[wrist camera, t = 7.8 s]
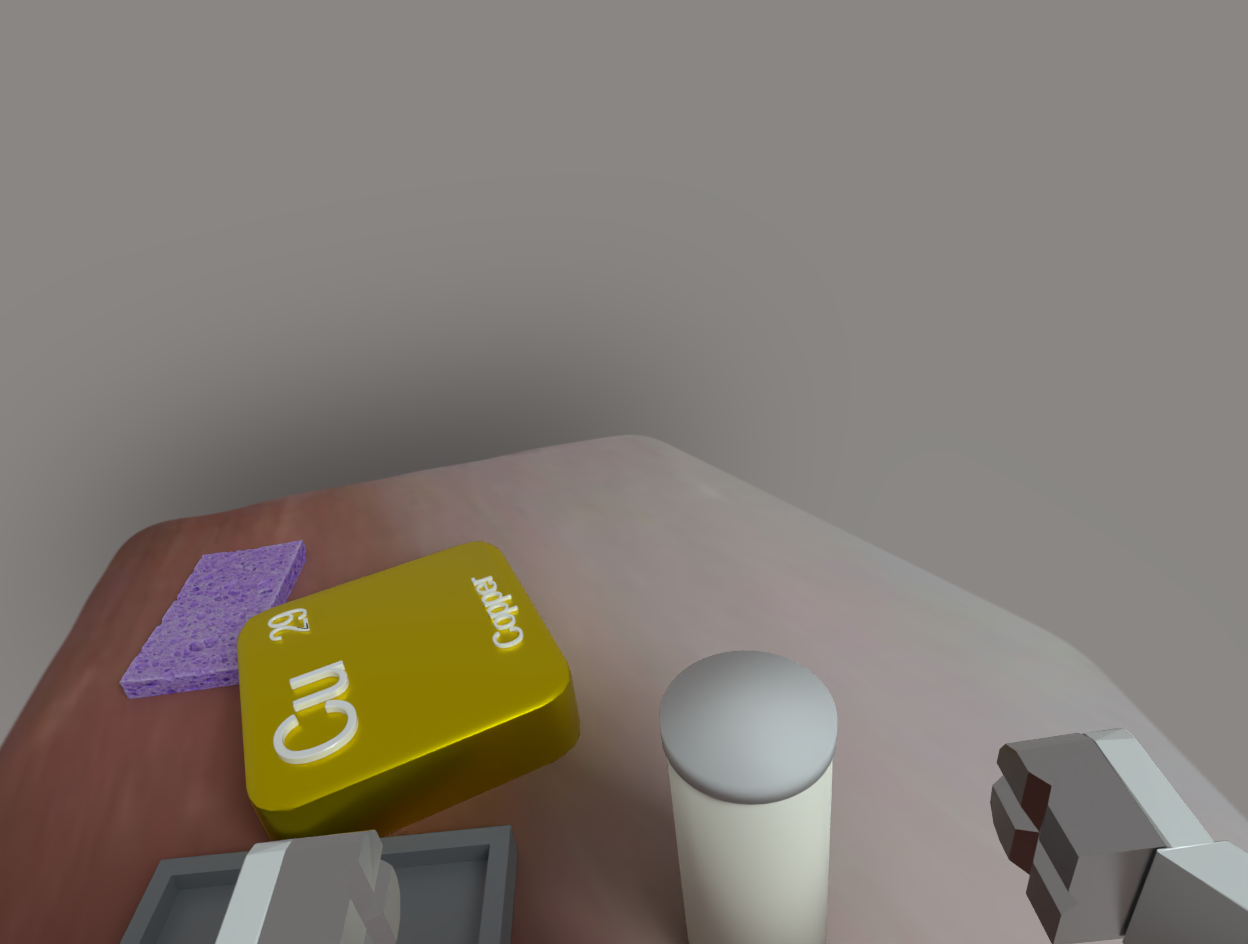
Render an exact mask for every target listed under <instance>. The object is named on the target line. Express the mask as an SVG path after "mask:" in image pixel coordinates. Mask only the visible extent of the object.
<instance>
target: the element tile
mask: <svg viewBox="0 0 1248 944" xmlns="http://www.w3.org/2000/svg"><path fill="white" fill-rule="evenodd" d="M237 656H238V671H239V685H240V700H241V715H242V730H243V745H244V760H245V775H246V790H247V794H248V797H249V800H250V802H251V804H252V806H253V808H254V810H255V812H256V814H257V816H258V818H259V820H260V822H261V824H262V826H263V828H264V830H265V832H266V834H267V836H268V838H269V840H270V842H272V841H280V840H287V839H295V838H297V839H298V838H306V837H315V836H324V835H332V834H341V833H350V832H358V831H367V830H376V832H377V834H378V836H379V838H380V837H382V836H385V835H387V834H389V833H392V832H394V831H396V830H398V829H401V828H403V827H405V826H408V825H410V824H412V823H414V822H417V821H419V820H421V819H424V818H426V817H428V816H431V815H433V814H435V813H437V812H440V811H442V810H444V809H447V808H449V807H451V806H453V805H456V804H458V803H460V802H463V801H465V800H467V799H469V798H472V797H474V796H476V795H479V794H481V793H483V792H485V791H488V790H490V789H492V788H495V787H497V786H499V785H502V784H504V783H506V782H508V781H511V780H513V779H515V778H518V777H520V776H522V775H524V774H527V773H529V772H531V771H534V770H536V769H538V768H540V767H543V766H545V765H547V764H550V763H552V762H554V761H556V760H557V759H559V758H561V757H562V756H564V755H565V754H566V753H567V752H568V751H569V750H570V749H571V748H573V747H574V746H575V744H576V742H577V740H578V738H579V736H580V719H579V713H578V708H577V702H576V697H575V692H574V686H573V681H572V676H571V671H570V668H569V665H568V662H567V661H566V659H565V657H564V656H563V654H562V652H561V651H560V649H559V647H558V646H557V644H556V642H555V641H554V639H553V637H552V636H551V634H550V632H549V630H548V629H547V627H546V625H545V624H544V622H543V620H542V619H541V617H540V615H539V614H538V612H537V610H536V609H535V607H534V605H533V604H532V602H531V600H530V599H529V597H528V595H527V593H526V592H525V590H524V588H523V587H522V585H521V583H520V582H519V580H518V578H517V577H516V575H515V573H514V572H513V570H512V568H511V567H510V565H509V563H508V561H507V560H506V558H505V556H504V555H503V553H502V552H501V551H500V550H499V549H498V548H497V547H495V546H493V545H491V544H489V543H485V542H482V541H476V542H470V543H466V544H462V545H458V546H455V547H452V548H449V549H446V550H443V551H440V552H437V553H434V554H431V555H428V556H425V557H422V558H419V559H416V560H413V561H410V562H407V563H404V564H401V565H398V566H395V567H392V568H389V569H386V570H383V571H380V572H377V573H374V574H371V575H368V576H365V577H362V578H359V579H356V580H353V581H350V582H347V583H344V584H341V585H338V586H335V587H332V588H329V589H326V590H323V591H320V592H317V593H314V594H311V595H308V596H305V597H302V598H299V599H296V600H293V601H290V602H287V603H284V604H281V605H278V606H275V607H272V608H270V609H268V610H266V611H263V612H261V613H259V614H257V615H255V616H253V617H251V618H250V619H249V620H248V621H247V622H246V624H245V625H244V626H243V628H242V630H241V631H240V633H239V635H238V639H237Z"/></svg>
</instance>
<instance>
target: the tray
mask: <svg viewBox="0 0 1248 944" xmlns="http://www.w3.org/2000/svg"><path fill="white" fill-rule="evenodd" d="M380 840H381V842H382V844H383V848H382V853H381V858H380V859H381V860H383V861H385V862H387V863H388V864H390V865H392V866H393V869H394V871H395V873H396V876H397V879H398V884H399V890H400V923H399V930H398V937H397V942H396V943H395V944H511V932H512V920H513V908H514V896H515V883H516V871H517V859H518V849H517V846H516V842H515V838H514V835H513V831H512V827H511V825H505V826H495V827H485V828H475V829H465V830H455V831H445V832H435V833H425V834H415V835H405V836H395V837H385V838H380ZM249 852H250V851H245V852H235V853H225V854H215V855H205V856H195V857H185V858H175V859H165V860H161V861H160V863H159V865H158V867H157V869H156V871H155V873H154V875H153V877H152V879H151V881H150V883H149V885H148V887H147V889H146V891H145V893H144V895H143V897H142V899H141V901H140V903H139V905H138V907H137V909H136V912H135V914H134V916H133V918H132V920H131V922H130V924H129V926H128V928H127V930H126V932H125V934H124V936H123V938H122V940H121V942H120V944H215V941H216V938H217V935H218V933H219V930H220V927H221V924H222V921H223V918H224V916H225V913H226V910H227V907H228V904H229V901H230V899H231V896H232V893H233V890H234V887H235V885H236V882H237V879H238V876H239V873H240V870H241V868H242V865H243V862H244V859H245V857H246V856H247V854H248V853H249Z"/></svg>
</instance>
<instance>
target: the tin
mask: <svg viewBox="0 0 1248 944" xmlns="http://www.w3.org/2000/svg"><path fill="white" fill-rule="evenodd" d="M659 719H660V730H661V738H662V744H663V749H664V752H665V754H666V757H667V762H668V771H669V780H670V788H671V797H672V806H673V814H674V823H675V832H676V840H677V849H678V858H679V866H680V875H681V884H682V892H683V901H684V910H685V918H686V927H687V936H688V943H689V944H826V927H827V900H828V872H829V844H830V816H831V789H832V761H833V757H834V753H835V749H836V741H837V711H836V707H835V703H834V701H833V699H832V696H831V694H830V693H829V691H828V690H827V688H826V686H825V685H824V684H823V683H822V682H821V681H820V679H819V678H817V677H816V676H815V675H814V674H813V673H812V672H811V671H809V670H808V669H806V668H805V667H803V666H802V665H800V664H798V663H796V662H794V661H792V660H790V659H787V658H785V657H782V656H779V655H776V654H771V653H766V652H759V651H731V652H725V653H720V654H716V655H712V656H710V657H707V658H704V659H702V660H700V661H698V662H696V663H694V664H692V665H691V666H689V667H688V668H686V669H685V670H684V671H682V672H681V673H680V674H679V675H678V676H677V677H676V678H675V679H674V680H673V681H672V682H671V684H670V685H669V687H668V688H667V690H666V692H665V694H664V696H663V699H662V702H661V705H660V712H659Z"/></svg>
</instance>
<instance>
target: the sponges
mask: <svg viewBox="0 0 1248 944" xmlns="http://www.w3.org/2000/svg"><path fill="white" fill-rule="evenodd" d="M305 552H306V547H305V545H304V543H303V541H302V540H300V541H293V542H289V543H284V544H278V545H271V546H265V547H260V548H258V549H252V550H250V549H247V550H245V551H240V550H238V551H236V552H229V553H227V552H222V553H214V554H209V555H202V559H200V560H199V562H198V563H197V565H196V567H195V568H194V572H193V574H191V575H190V577H189V578H188V579H187V581H186V582H185V585H184V587H183V588H182V590H181V592H180V594H178V596H177V600H175V601H174V602H173V603H172V605H171V606H170V608H169V609H168V611H167V612H166V614H165V615H164V617H163V618H162V624H161V625H160V626H157V627H156V629H155V630H154V631H153V633H152V634H151V636H150V637H149V639H148V641H147V642H146V643H145V645H144V646H143V647H142V651H141V652H140V653H139V655H138V656H137V657H135V659H134V660H133V661H132V663H131V665H130V667H129V668H128V669H127V671H126V673H125V674H124V676H123V677H122V679H121V681H120V682H119V683H120V685H121V686H122V687H123V688H124V692H125V694H126V696H127V697H128V699H133V698H141V697H148V696H157V695H163V694H170V693H179V692H186V691H193V690H203V689H209V688H216V687H224V686H232V685H237V684H239V671H238V656H237V639H238V635H239V633H240V631H241V630H242V628H243V626H244V625H245V624H246V622H247V621H248V620H249V619H250V618H251V617H253V616H255V615H257V614H259V613H261V612H263V611H266V610H268V609H270V608H272V607H275V606H278V605H281V604H284V603H286V602H287V600H288V596H289V595H290V593H291V591H292V588H293V586H294V585H295V582H296V580H297V578H298V576H299V574H300V572H301V570H302V568H303V566H304V564H305V562H306V556H305Z"/></svg>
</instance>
